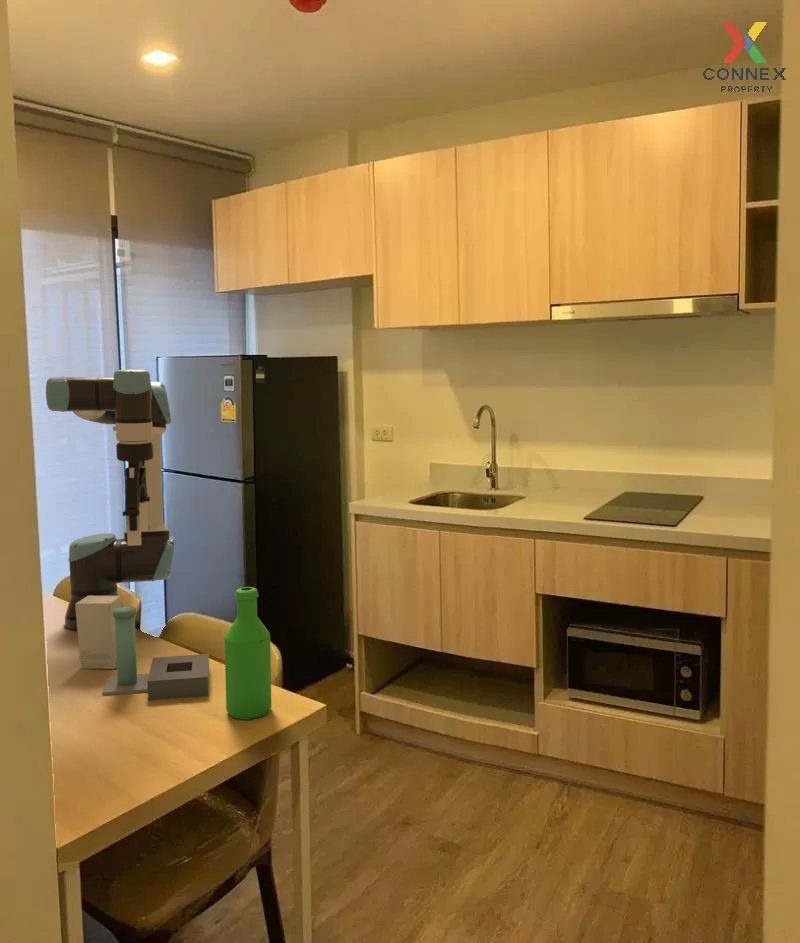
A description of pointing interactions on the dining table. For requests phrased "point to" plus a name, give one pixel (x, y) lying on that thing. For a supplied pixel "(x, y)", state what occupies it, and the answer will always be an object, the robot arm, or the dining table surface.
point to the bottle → (247, 660)
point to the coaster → (114, 688)
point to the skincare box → (97, 631)
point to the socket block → (178, 677)
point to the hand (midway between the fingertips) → (138, 537)
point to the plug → (125, 645)
